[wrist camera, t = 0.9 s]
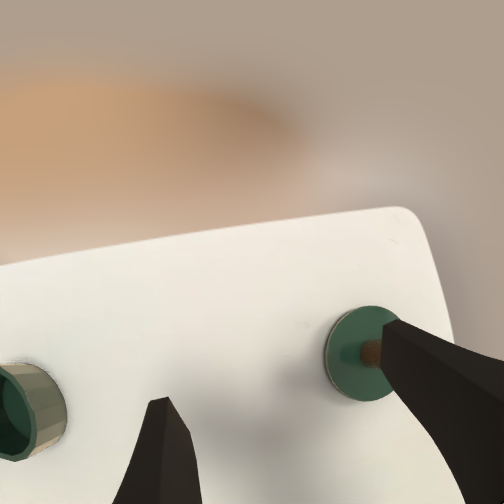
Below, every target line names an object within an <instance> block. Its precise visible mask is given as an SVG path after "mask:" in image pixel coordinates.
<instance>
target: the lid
mask: <svg viewBox="0 0 504 504" xmlns="http://www.w3.org/2000/svg"><path fill="white" fill-rule="evenodd" d="M395 319H399V318H398V317H397V316H396V315H395V314H394V313H393V312H391V311H389V310H387V309H385V308H383V307H379V306H364V307H360V308H357V309H355V310H352V311H351V312H349V313H347V314H346V315H345V316H343V317H342V318H341V319H340V320H339V321H338V323H337V324H336V325H335V327H334V328H333V330H332V332H331V334H330V336H329V339H328V342H327V346H326V354H325V359H326V368H327V371H328V375H329V377H330V379H331V381H332V383H333V384H334V386H335V387H336V388H337V389H338V390H339V391H340V392H341V393H342V394H344V395H345V396H347V397H349V398H352V399H354V400H358V401H374V400H378V399H380V398H383V397H385V396H387V395H388V394H390V393H391V392H392V391H393V388H392V387H391V385H390V384H389V382H388V380H387V379H386V377H385V375H384V374H383V372H382V370H381V369H380V367H379V365H380V355H381V343H382V329H383V325H384V324H387V323H389V322H391V321H393V320H395ZM399 320H400V319H399Z"/></svg>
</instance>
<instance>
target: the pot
mask: <svg viewBox="0 0 504 504" xmlns="http://www.w3.org/2000/svg"><path fill="white" fill-rule="evenodd" d="M66 422H67V412H66V406H65V402H64V399H63V396H62V394H61V392H60V390H59V388H58V386H57V385H56V383H55V382H54V381H53V379H52V378H51V377H50V376H49V375H48V374H47V373H45V372H44V371H43V370H41V369H40V368H38V367H36V366H33V365H29V364H0V458H3V459H6V460H10V461H13V462H16V461H20V460H24V459H27V458H29V457H31V456H32V455H34V454H36V453H38V452H40V451H42V450H44V449H45V448H47V447H49V446H51V445H53V444H54V443H55V442H56V441H58V440H59V439H60V438H61V436H62V435H63V433H64V430H65V427H66Z"/></svg>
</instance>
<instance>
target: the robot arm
mask: <svg viewBox="0 0 504 504" xmlns="http://www.w3.org/2000/svg"><path fill="white" fill-rule="evenodd" d="M379 367H380V369H381V370H382V372H383V374H384V375H385V377H386V379H387V380H388V382H389V384H390V385H391V387H392V388H393V390H394V391H395V392H396V394H397V395H398V396H399V397H400V399H401V400H402V401H403V402H404V404H405V405H406V406H407V407H408V408H409V410H410V411H411V412H412V413H413V415H414V416H415V417H416V418H417V419H418V421H419V422H420V423H421V424H422V426H423V427H424V428H425V429H426V431H427V432H428V433H429V435H430V436H431V437H432V439H433V441H434V442H435V444H436V445H437V447H438V449H439V450H440V452H441V454H442V455H443V457H444V459H445V461H446V463H447V464H448V466H449V468H450V470H451V472H452V474H453V476H454V478H455V480H456V482H457V484H458V486H459V489H460V491H461V493H462V496H463V498H464V501H465V503H466V504H503V503H504V361H502V360H498V359H494V358H491V357H487V356H484V355H481V354H478V353H476V352H473V351H470V350H467V349H465V348H462V347H460V346H457V345H455V344H452V343H450V342H448V341H446V340H443V339H441V338H439V337H437V336H434V335H432V334H430V333H428V332H426V331H423V330H421V329H419V328H417V327H415V326H413V325H411V324H408V323H406V322H404V321H401V320H399V319H395V320H393V321H391V322H389V323H387V324H384V325H383V329H382V343H381V355H380V365H379ZM112 504H202V498H201V491H200V483H199V476H198V468H197V460H196V455H195V451H194V447H193V443H192V439H191V435H190V431H189V430H188V428H187V427H186V425H185V424H184V422H183V420H182V419H181V417H180V415H179V414H178V412H177V411H176V409H175V407H174V406H173V404H172V402H171V401H170V399H169V397H165V398H161V399H156V400H151V401H150V402H149V403H148V407H147V410H146V414H145V417H144V420H143V424H142V427H141V430H140V433H139V437H138V440H137V443H136V446H135V448H134V451H133V454H132V457H131V460H130V463H129V466H128V468H127V471H126V473H125V476H124V478H123V481H122V483H121V486H120V488H119V490H118V492H117V495H116V497H115V499H114V501H113V503H112Z"/></svg>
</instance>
